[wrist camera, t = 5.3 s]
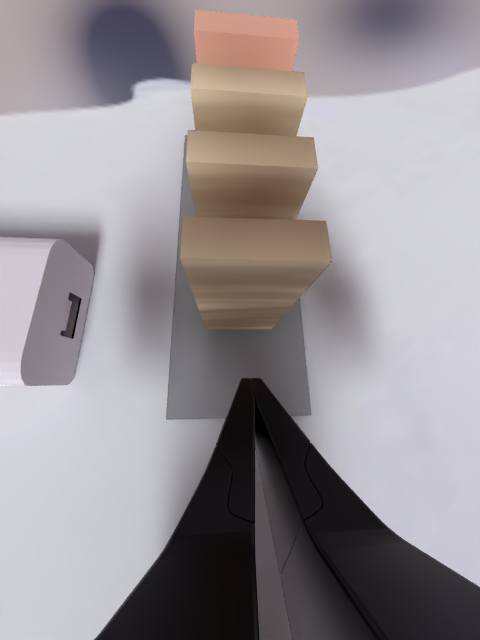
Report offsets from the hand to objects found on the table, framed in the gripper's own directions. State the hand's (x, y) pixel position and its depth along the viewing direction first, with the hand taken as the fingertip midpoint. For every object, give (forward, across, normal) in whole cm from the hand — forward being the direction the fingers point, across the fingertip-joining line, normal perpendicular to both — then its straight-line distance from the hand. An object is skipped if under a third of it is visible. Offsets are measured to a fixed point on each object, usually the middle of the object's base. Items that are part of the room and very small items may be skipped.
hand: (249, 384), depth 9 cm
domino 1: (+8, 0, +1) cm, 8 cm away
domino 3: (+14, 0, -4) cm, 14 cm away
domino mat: (+13, 0, -2) cm, 13 cm away
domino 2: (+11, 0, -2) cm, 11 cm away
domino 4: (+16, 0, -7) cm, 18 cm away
